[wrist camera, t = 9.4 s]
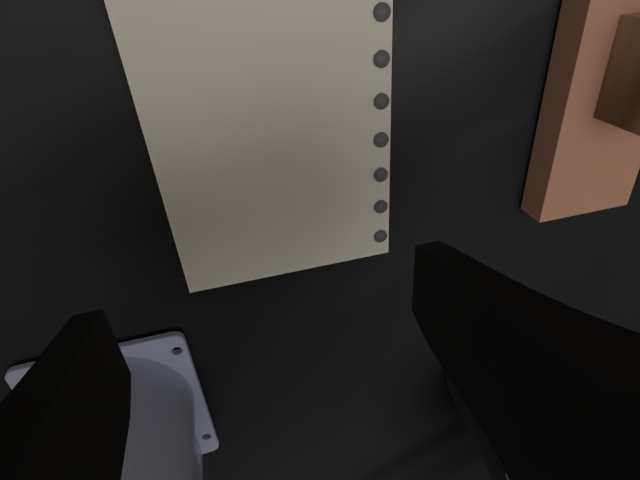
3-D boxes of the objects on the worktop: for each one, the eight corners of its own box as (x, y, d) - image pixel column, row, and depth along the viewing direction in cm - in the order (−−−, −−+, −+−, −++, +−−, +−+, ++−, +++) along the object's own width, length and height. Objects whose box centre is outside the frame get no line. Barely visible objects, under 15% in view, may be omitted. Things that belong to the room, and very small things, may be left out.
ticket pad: (376, 235, 22) (389, 253, 21) (189, 272, 20) (189, 294, 19) (377, -134, 14) (396, -143, 13) (78, -118, 13) (66, -127, 12)
